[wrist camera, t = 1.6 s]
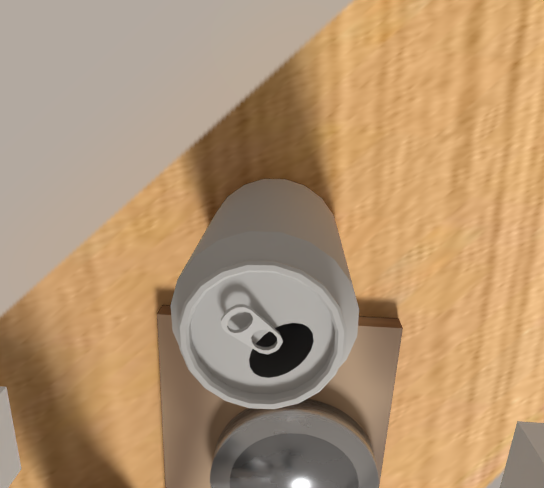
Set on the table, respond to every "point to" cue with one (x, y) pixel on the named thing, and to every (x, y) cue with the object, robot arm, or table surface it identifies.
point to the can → (266, 298)
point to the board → (218, 413)
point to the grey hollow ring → (294, 450)
